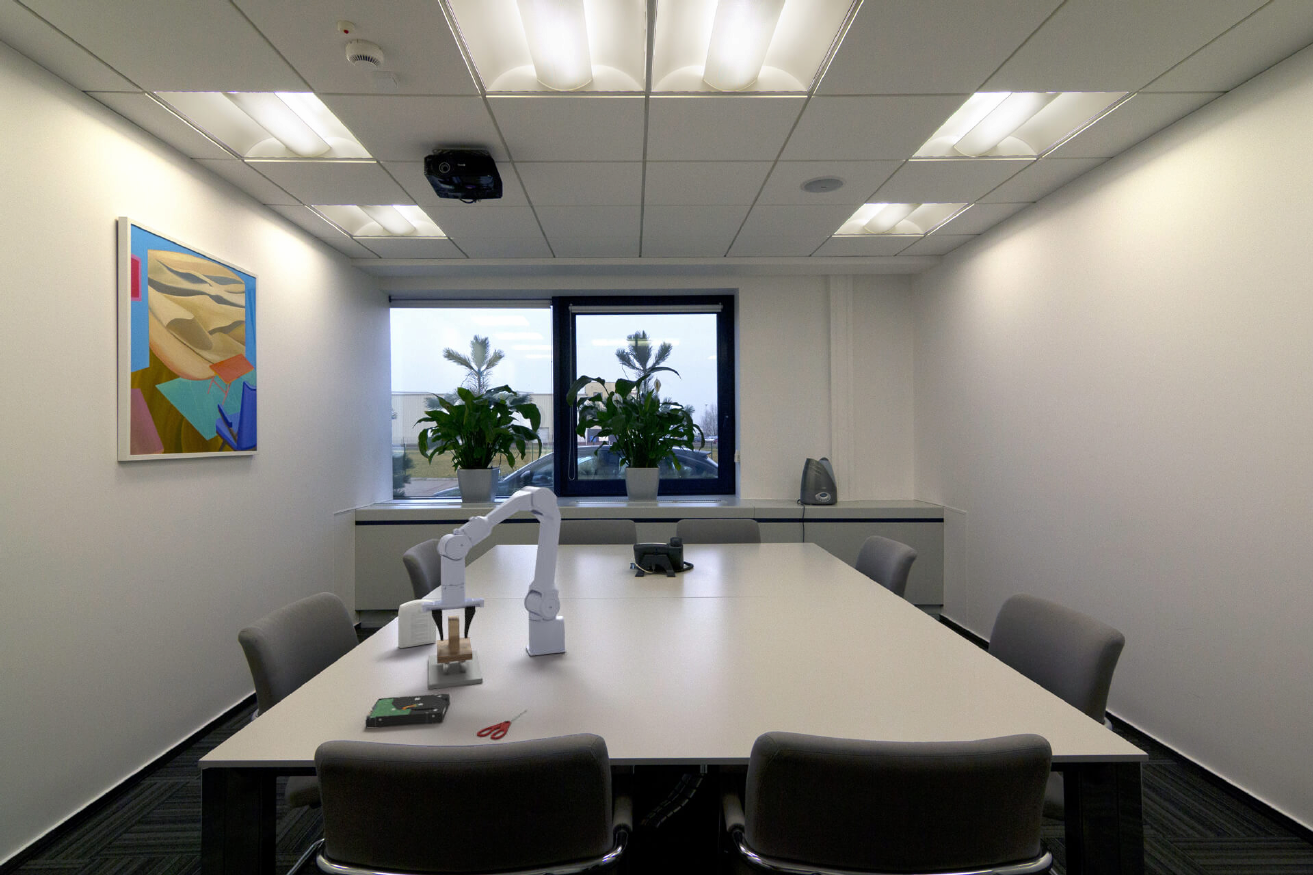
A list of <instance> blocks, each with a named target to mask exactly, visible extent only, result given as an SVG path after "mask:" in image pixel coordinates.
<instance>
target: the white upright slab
mask: <svg viewBox="0 0 1313 875" xmlns="http://www.w3.org/2000/svg"><path fill="white" fill-rule="evenodd" d="M428 602H434V600H430V599H415V600H410V601H407V602H405V603H402V604H400V605H399V607H398V608H399V609H398V615H397V617H398V618H397V619H398V620H397V622H398V624H397V626H398V627H397V634H398V637H397V644H398V645H397V646H398V648H400V649H405V648H410V647H415V646H423V645H428V644H429V645H430V644H435V643H437V625H436V623H435V621H434V619H433V617H432V611H428V612H425V613H423V612H422V603H428Z"/></svg>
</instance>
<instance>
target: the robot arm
mask: <svg viewBox="0 0 1313 875" xmlns="http://www.w3.org/2000/svg"><path fill="white" fill-rule="evenodd" d="M557 500H558V496H556V494H555V493H554V492H553V491H552V490H551V489H550V488H548V487H538V486H531V485H527V486H523V488H521V489H520V490H517V491H516V492H514V493H513V494H512V495H511V496H510V497H508V498H507V499H506V500H505V501H503V502H502V503H501V504H499V505H498V506H497V507H495V508H494V509H493V510H490V512H489V513H487V514H486V515H485V516H482V515H477V516H471V517H469V518H468V522H466V523H464V524H463V525H462V526H460V527H458V528H454V529H453V530H452V532H453V533H449V534H445V535H443V536H442V537H441V538H440V539H439V541H438V544H437V545H436V551H437V553H438V555H440V588H441V589H440V592H441V593H440V594H441V596H440V597H441V598H440V600H435V601H434V600H433V601H434V602H428V603H422V612H423V613H425V612H428V611H432V617H433V619H434V621H435V623H436V629H437V631H438V634H439V638H440V641H443V640H444V628H443V611H447V610H459V609H463V610H464V630H463V636H464V637H463V638H468V637H469V632H470V627H471V624H472V620H473V619H474V616H475V614H476V612H477V611H476V608H485V599H484V598H483V597H477V598H475V597H472V598H471V597H470V598H469V597H467V598H466V556H467V555H468V553H469V550H470V549H471V548H473V547H474V546H476V545H477V544H479V543H480V542H482V541H483V540H484V539H486V538H487V537H489V536H490V535H491V533H492V530H493V527H496V525H499V523H502V522H503V521H504V520H506V519H508V518H509V517H511V516H512V515H514V514H515V513H517V512H526V511H528V512H530V513H531V514H532V515H534V516H535V518H536V519H537V520H538V521H539V522H540V523H539V531H538V540H537V549H536V560H535V569H534V575H533V577H534V578H533V581H532V582H531V583H530V584H529V585H528V591H527V593H526V595H525V598H524V600H523V601H524V602H523V605H524V608H525V610H527V612H528V644H527V645H525V649H526V651H527V653H528V655H529V656H542V655H548V654H551V655H552V654H556V653H557V654H558V653H560V654H561V653H566V639H565V638H566V634H565V633H566V630H565V628H566V627H565V620H564V616H563V615H558V614H559V612H560V610H561V602H560V598H559V592H560V591H559V589H558V587H557V585H556V583H555V577H556V568H557V560H558V559H557V558H558V550H559V548H558V547H559V541H560V540H559V539H560V532H561V521H562V514H561V511H560V509H559V508H560V507H559V506H558V503H557Z"/></svg>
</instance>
